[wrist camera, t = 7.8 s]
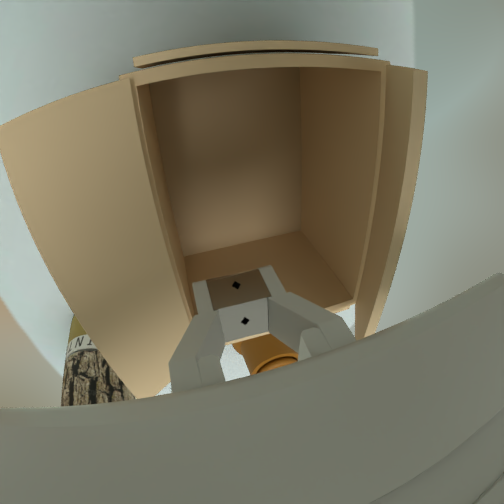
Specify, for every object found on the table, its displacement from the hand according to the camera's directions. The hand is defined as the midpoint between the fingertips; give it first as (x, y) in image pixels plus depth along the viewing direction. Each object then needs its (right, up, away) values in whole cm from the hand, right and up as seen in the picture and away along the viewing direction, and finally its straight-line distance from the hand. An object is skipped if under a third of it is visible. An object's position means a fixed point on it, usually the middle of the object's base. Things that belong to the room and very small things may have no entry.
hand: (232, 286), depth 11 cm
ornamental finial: (+2, -7, +24) cm, 25 cm away
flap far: (+8, +4, +4) cm, 10 cm away
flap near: (-3, +1, +2) cm, 4 cm away
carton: (-1, +8, +11) cm, 14 cm away
